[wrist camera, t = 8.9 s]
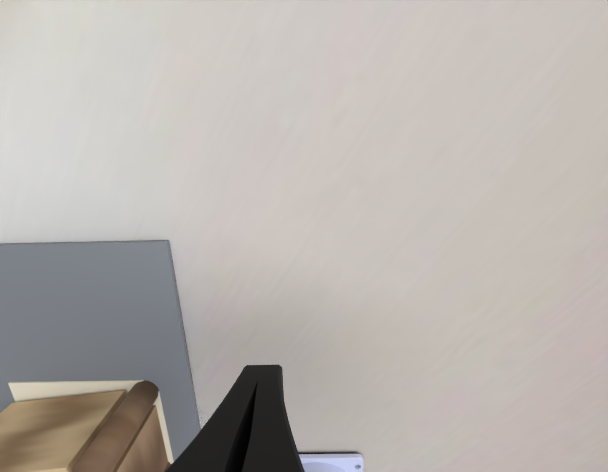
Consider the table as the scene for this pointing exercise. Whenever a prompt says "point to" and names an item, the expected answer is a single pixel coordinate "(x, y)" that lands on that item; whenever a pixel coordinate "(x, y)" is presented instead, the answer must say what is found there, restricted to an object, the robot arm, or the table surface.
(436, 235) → the table surface
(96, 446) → the fence fixed section
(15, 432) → the fence panel
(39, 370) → the card
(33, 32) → the table surface
